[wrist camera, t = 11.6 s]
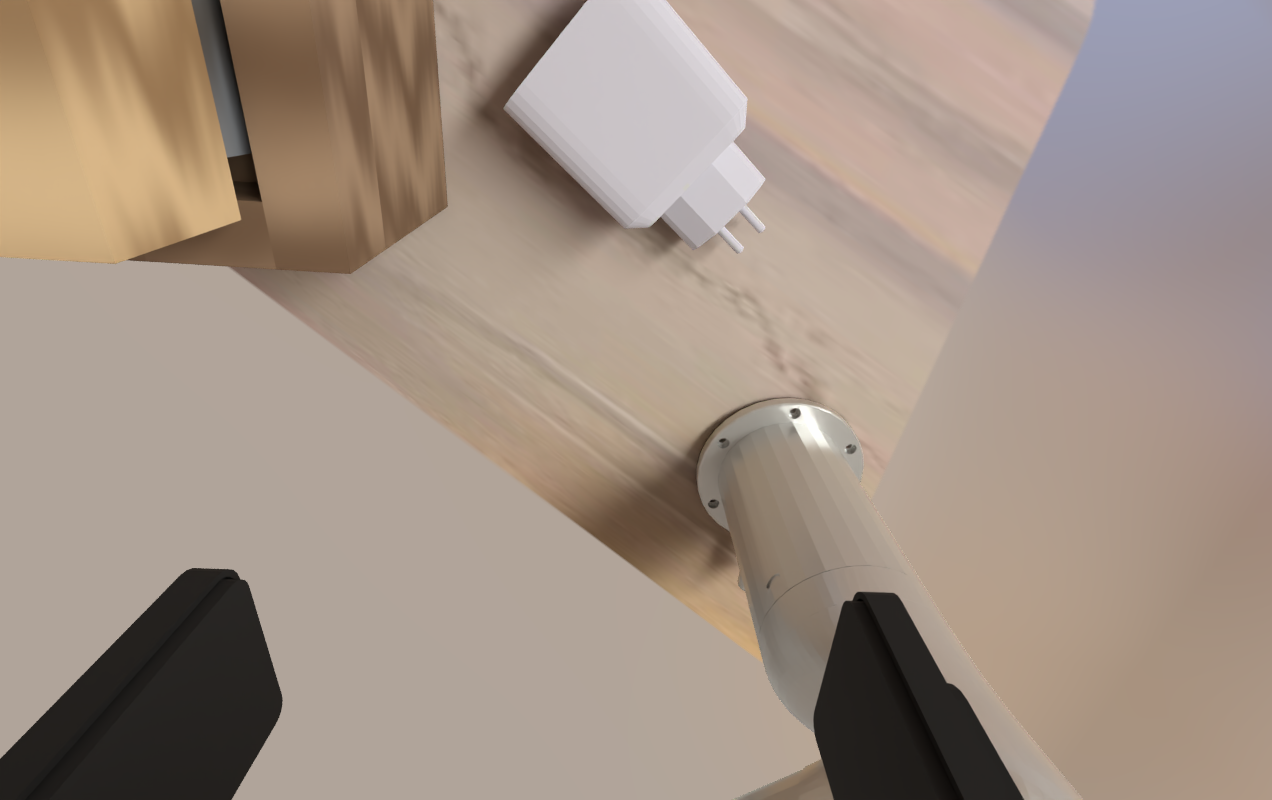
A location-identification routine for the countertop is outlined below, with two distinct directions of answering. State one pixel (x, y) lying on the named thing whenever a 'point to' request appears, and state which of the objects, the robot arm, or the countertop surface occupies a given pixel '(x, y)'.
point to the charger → (642, 120)
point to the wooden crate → (328, 134)
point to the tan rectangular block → (115, 127)
